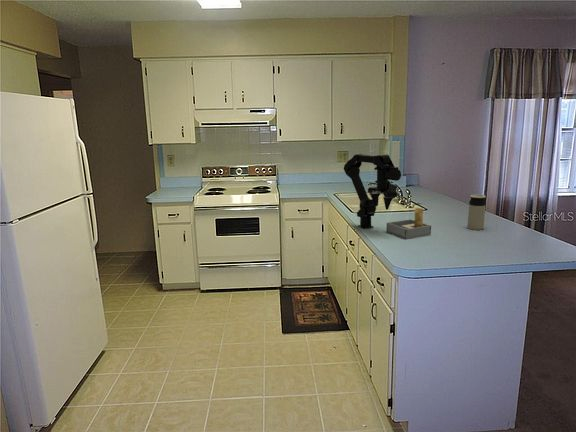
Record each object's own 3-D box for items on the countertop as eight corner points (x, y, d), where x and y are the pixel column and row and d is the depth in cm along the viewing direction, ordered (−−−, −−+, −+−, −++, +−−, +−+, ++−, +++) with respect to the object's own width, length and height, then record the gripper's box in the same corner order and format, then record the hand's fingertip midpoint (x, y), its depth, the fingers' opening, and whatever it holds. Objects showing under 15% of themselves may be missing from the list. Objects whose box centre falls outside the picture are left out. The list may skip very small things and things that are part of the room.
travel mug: (485, 230, 217) (488, 197, 213) (469, 230, 218) (471, 197, 214) (481, 226, 224) (484, 194, 220) (465, 226, 226) (468, 194, 222)
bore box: (386, 231, 219) (386, 222, 218) (410, 228, 225) (410, 219, 224) (405, 239, 205) (406, 229, 204) (430, 235, 211) (431, 225, 210)
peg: (412, 232, 213) (413, 209, 210) (415, 230, 216) (416, 207, 213) (420, 233, 211) (421, 210, 208) (423, 231, 214) (424, 208, 211)
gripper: (406, 179, 209) (405, 209, 212) (384, 175, 225) (383, 203, 229) (388, 181, 204) (387, 211, 208) (367, 177, 221) (366, 205, 225)
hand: (381, 207), depth 218 cm, fingers open, 9 cm apart
